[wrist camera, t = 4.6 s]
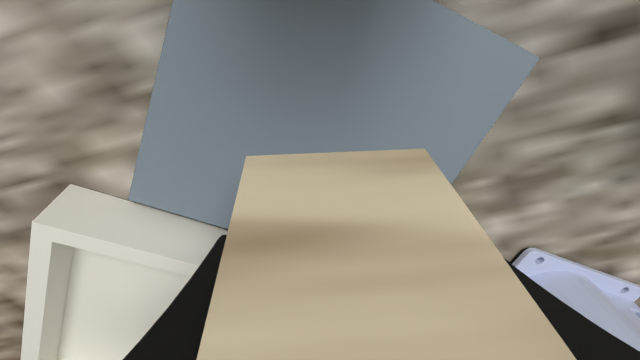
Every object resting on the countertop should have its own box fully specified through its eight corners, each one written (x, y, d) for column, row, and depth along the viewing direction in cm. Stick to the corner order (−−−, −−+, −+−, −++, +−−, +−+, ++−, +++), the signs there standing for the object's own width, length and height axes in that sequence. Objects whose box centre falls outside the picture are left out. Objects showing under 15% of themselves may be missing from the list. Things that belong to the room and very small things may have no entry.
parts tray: (445, 293, 23) (464, 335, 20) (349, 409, 29) (355, 452, 26) (70, 183, 18) (32, 221, 15) (47, 354, 24) (17, 402, 21)
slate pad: (529, 53, 16) (540, 57, 15) (383, 265, 22) (387, 275, 21) (205, -119, 12) (200, -124, 12) (134, 190, 18) (128, 199, 17)
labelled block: (406, 277, 12) (502, 540, 6) (263, 286, 11) (237, 564, 6) (424, 148, 9) (597, 388, 4) (246, 155, 9) (182, 419, 4)
